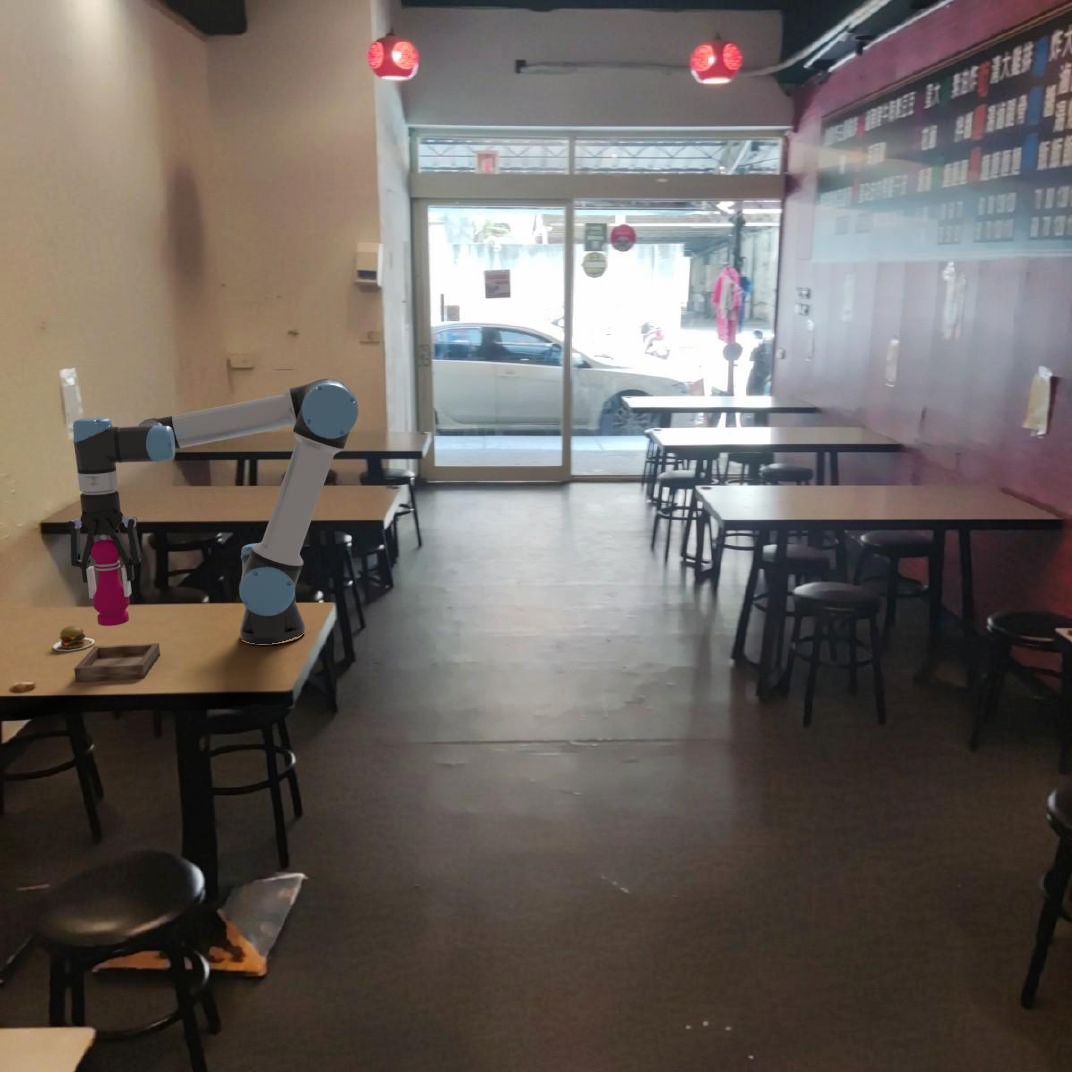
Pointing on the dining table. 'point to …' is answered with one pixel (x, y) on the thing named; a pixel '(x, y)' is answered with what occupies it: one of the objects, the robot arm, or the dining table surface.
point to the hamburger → (72, 638)
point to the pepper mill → (109, 584)
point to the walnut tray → (117, 662)
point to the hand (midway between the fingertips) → (110, 595)
